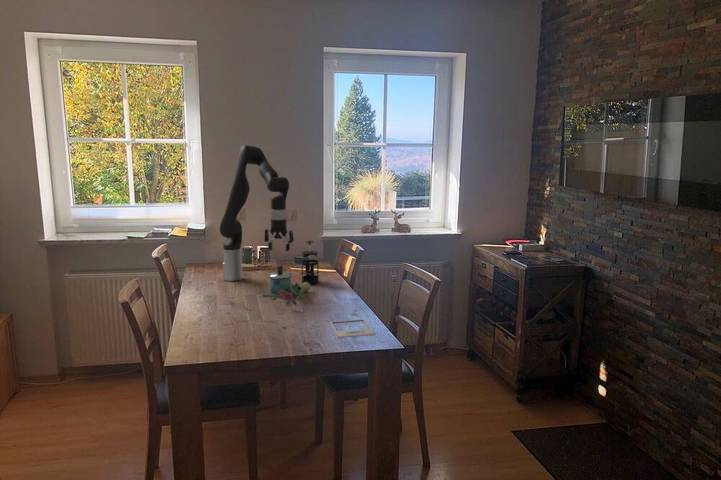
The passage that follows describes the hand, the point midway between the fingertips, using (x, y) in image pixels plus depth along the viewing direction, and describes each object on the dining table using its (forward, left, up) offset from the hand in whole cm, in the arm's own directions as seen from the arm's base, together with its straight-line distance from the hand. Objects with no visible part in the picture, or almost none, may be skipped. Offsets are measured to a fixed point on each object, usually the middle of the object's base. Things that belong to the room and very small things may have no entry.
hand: (279, 250), depth 270 cm
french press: (+9, +22, -22) cm, 33 cm away
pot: (0, 0, -22) cm, 22 cm away
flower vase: (+12, -11, -22) cm, 27 cm away
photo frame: (+46, -45, -23) cm, 68 cm away
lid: (0, 0, -13) cm, 13 cm away
